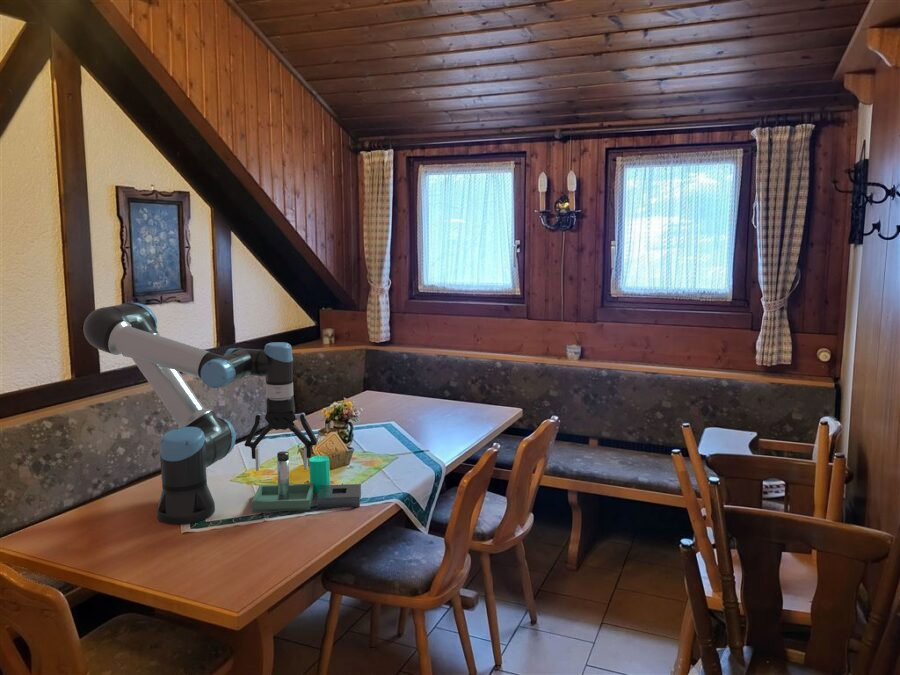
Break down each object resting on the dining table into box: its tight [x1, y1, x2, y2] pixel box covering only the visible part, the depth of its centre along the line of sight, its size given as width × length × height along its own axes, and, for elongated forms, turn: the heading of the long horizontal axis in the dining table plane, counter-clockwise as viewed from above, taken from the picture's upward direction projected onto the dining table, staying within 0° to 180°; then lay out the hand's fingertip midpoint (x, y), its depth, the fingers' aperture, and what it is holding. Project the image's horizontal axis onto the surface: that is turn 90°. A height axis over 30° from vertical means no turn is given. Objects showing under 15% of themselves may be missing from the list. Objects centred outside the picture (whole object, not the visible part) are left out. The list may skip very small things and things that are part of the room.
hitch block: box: [316, 483, 362, 509], centre depth 210 cm, size 12×10×3 cm
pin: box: [276, 450, 290, 500], centre depth 208 cm, size 3×3×14 cm
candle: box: [308, 454, 331, 495], centre depth 218 cm, size 6×6×12 cm
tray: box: [251, 483, 315, 513], centre depth 209 cm, size 16×13×3 cm
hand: (282, 469), depth 208 cm, fingers open, 13 cm apart
